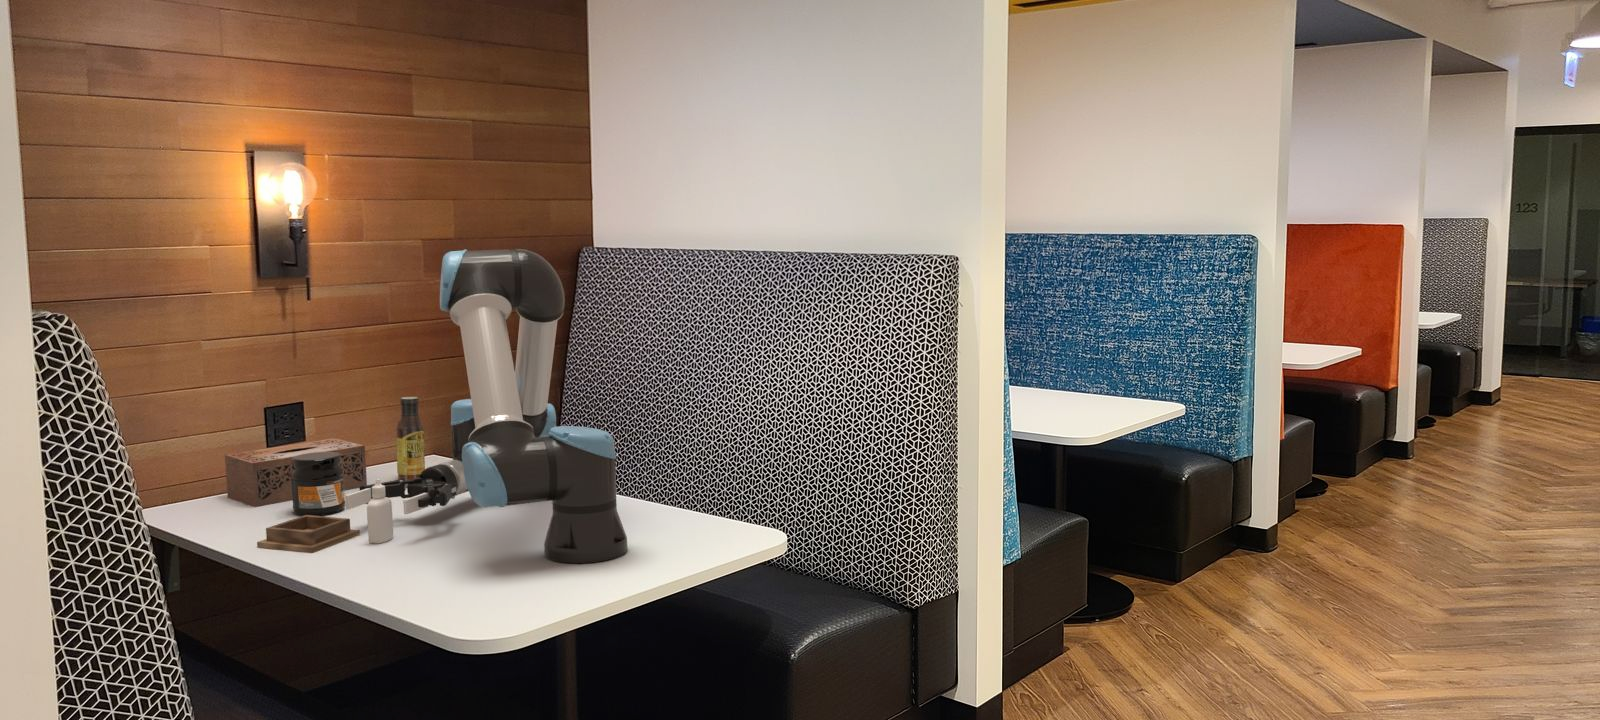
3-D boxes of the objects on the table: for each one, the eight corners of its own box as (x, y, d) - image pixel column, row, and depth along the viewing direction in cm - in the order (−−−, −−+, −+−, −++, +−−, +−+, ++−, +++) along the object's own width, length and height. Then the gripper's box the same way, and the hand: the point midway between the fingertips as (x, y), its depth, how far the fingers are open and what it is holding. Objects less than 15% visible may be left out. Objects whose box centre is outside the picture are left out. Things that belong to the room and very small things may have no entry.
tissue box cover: (255, 508, 255) (252, 463, 254) (227, 498, 265) (224, 454, 264) (367, 487, 274) (364, 445, 273) (337, 479, 284) (335, 438, 283)
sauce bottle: (409, 484, 276) (405, 400, 274) (392, 481, 279) (387, 398, 277) (431, 478, 282) (427, 396, 279) (414, 476, 285) (410, 395, 283)
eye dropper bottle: (361, 541, 227) (358, 480, 225) (388, 535, 231) (385, 475, 230) (373, 545, 224) (370, 483, 223) (400, 539, 228) (397, 478, 227)
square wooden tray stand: (359, 535, 231) (358, 517, 231) (312, 552, 219) (311, 534, 219) (306, 530, 236) (305, 513, 235) (257, 547, 223) (256, 529, 223)
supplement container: (334, 517, 246) (331, 460, 245) (284, 517, 246) (280, 461, 245) (353, 504, 257) (350, 450, 255) (305, 505, 257) (301, 451, 255)
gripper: (495, 503, 242) (431, 528, 223) (395, 495, 251) (324, 519, 231) (494, 467, 242) (429, 489, 222) (393, 460, 250) (322, 481, 230)
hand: (375, 504), depth 226 cm, fingers open, 13 cm apart
